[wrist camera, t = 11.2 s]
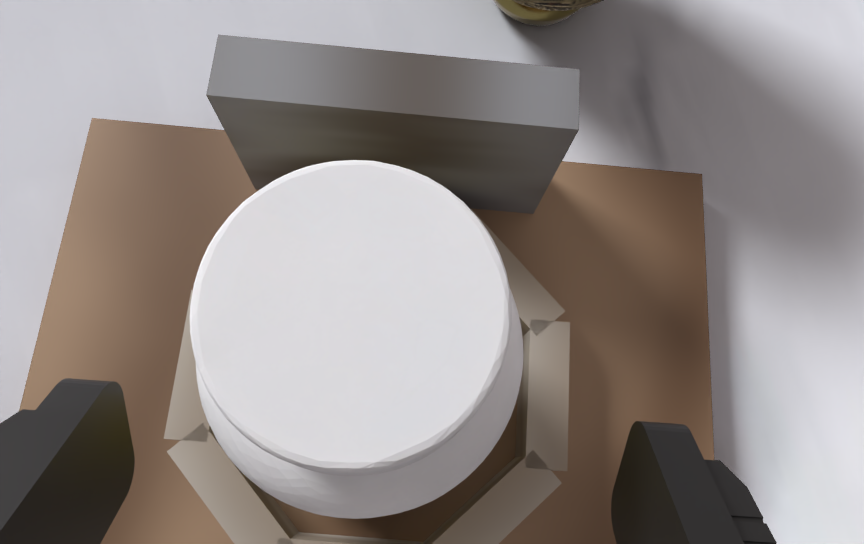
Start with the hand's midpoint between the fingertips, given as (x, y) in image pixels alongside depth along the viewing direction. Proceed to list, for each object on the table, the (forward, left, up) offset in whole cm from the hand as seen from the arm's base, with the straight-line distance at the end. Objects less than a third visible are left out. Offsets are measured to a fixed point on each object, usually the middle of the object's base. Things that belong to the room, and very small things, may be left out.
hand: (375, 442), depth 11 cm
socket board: (0, +2, -8) cm, 8 cm away
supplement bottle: (0, +1, -7) cm, 7 cm away
